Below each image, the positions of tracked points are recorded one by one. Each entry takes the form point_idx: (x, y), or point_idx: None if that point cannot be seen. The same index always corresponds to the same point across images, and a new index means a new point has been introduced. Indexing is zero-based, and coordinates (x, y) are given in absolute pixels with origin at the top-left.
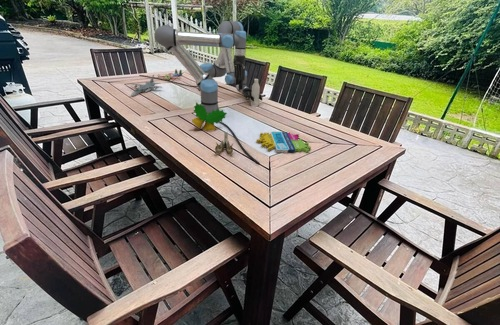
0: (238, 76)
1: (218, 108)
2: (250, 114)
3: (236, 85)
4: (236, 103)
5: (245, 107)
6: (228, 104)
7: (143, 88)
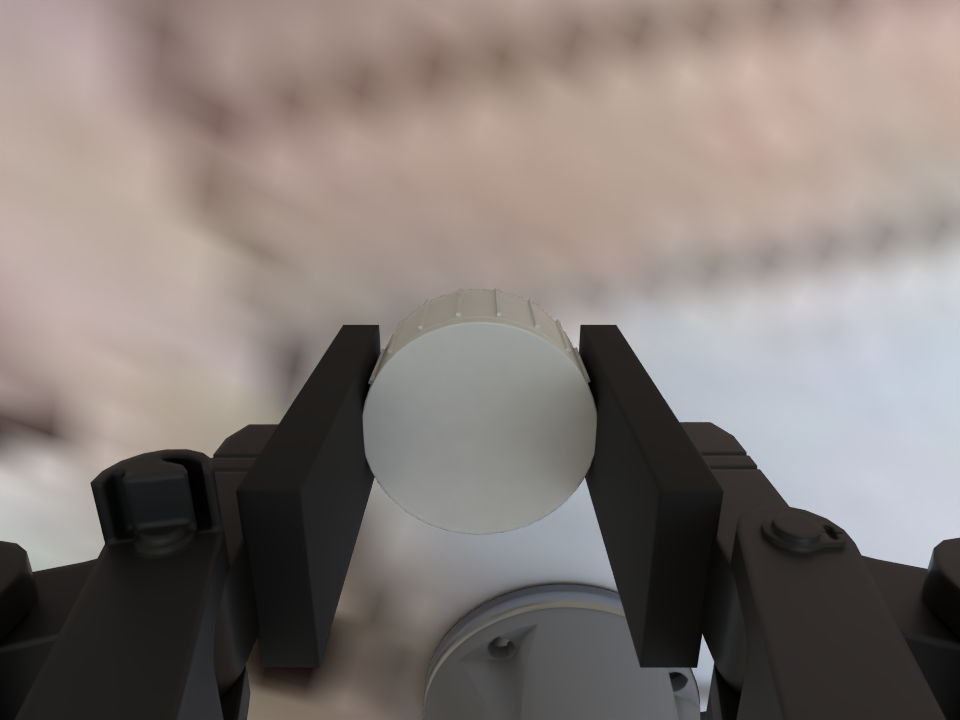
0: (208, 667)
1: (657, 694)
2: (804, 176)
3: (455, 525)
4: (140, 112)
5: (425, 59)
6: (180, 289)
7: None
